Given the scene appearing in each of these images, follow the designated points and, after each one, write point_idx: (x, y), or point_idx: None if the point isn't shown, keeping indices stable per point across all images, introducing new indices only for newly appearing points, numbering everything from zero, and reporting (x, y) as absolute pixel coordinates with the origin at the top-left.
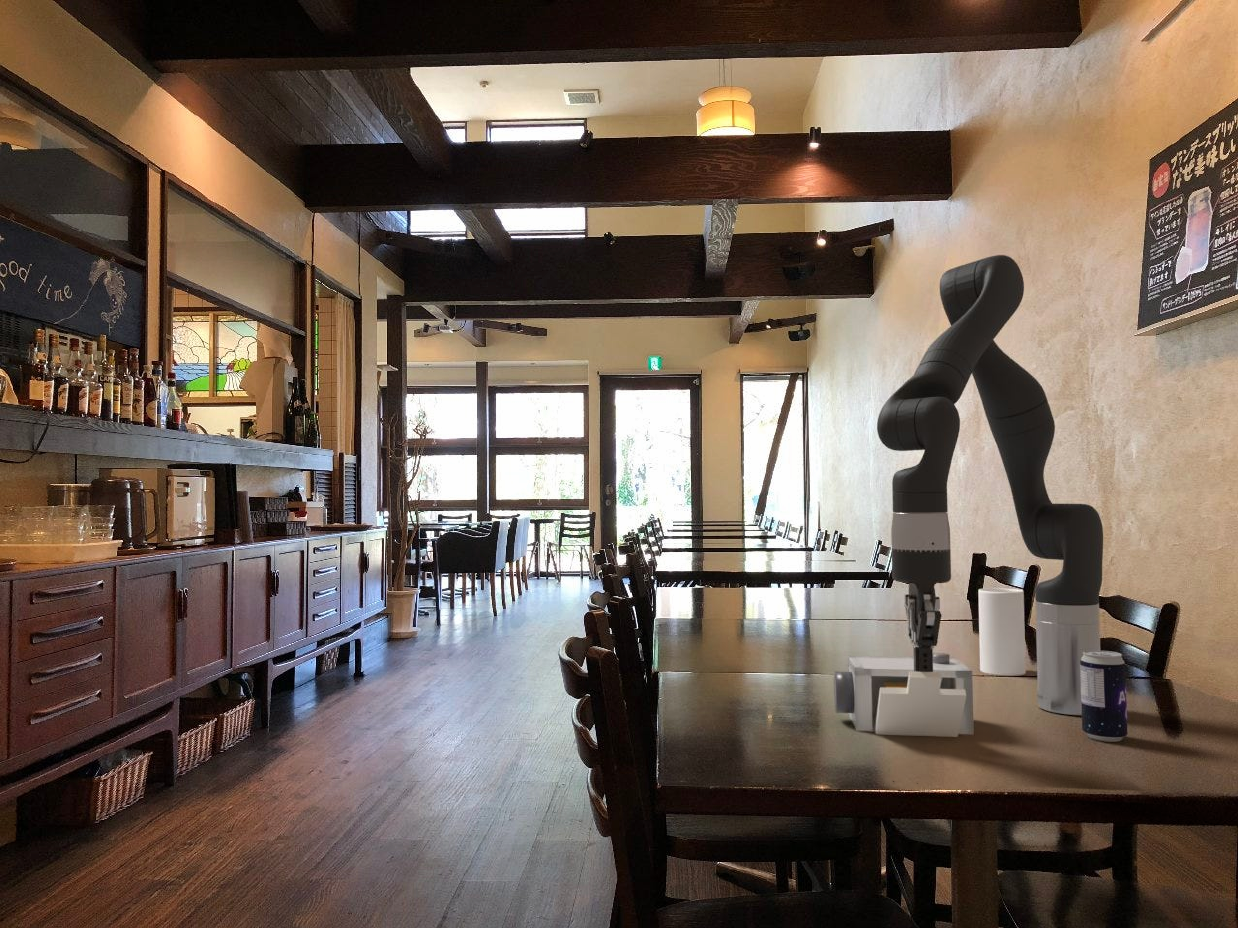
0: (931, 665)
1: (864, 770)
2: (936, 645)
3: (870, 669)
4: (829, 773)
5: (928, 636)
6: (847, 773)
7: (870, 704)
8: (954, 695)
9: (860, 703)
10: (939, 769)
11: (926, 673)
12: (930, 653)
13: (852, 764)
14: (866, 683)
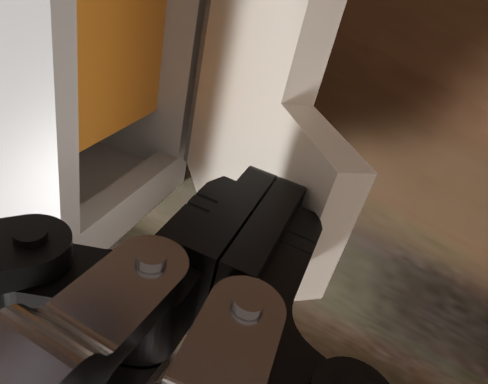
0: (290, 218)
1: (422, 291)
2: (382, 376)
3: None
4: (419, 356)
5: (149, 324)
6: (431, 330)
7: (139, 191)
8: (336, 31)
9: (136, 215)
10: (481, 122)
11: (323, 238)
12: (296, 293)
13: (371, 288)
14: (98, 232)
